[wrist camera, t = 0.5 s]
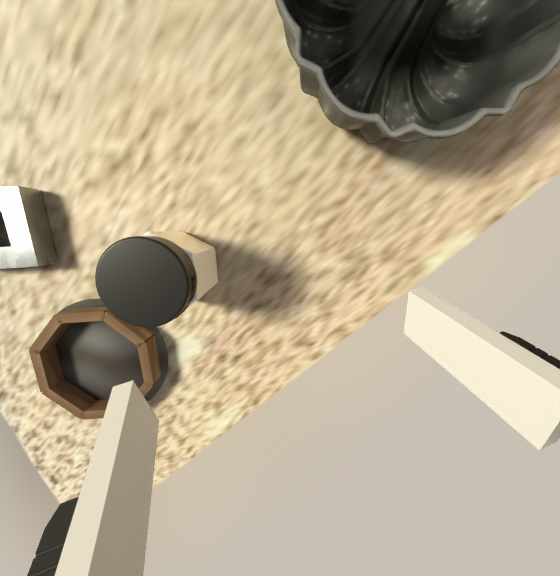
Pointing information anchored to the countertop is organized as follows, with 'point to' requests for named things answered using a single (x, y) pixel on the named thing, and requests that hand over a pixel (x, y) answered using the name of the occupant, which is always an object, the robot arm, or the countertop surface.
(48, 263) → the square socket
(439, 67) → the bundt pan
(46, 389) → the brown octagonal tray
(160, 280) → the jar
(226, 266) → the countertop surface
